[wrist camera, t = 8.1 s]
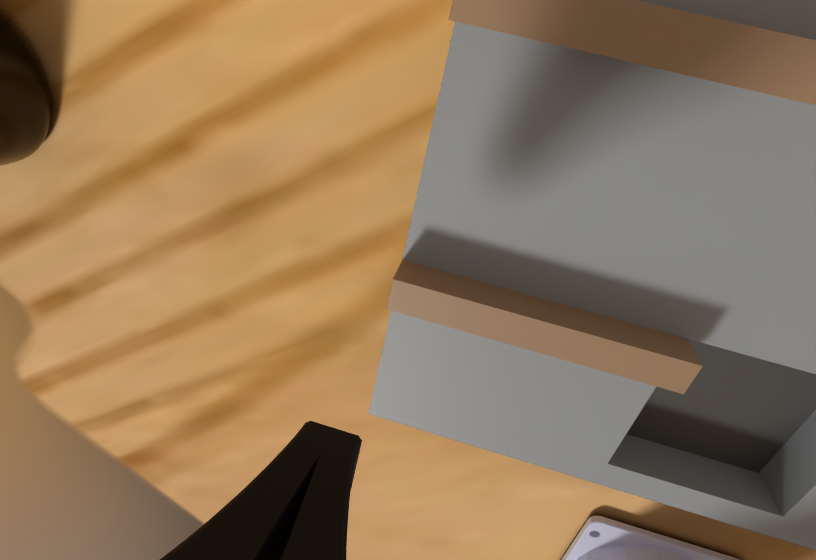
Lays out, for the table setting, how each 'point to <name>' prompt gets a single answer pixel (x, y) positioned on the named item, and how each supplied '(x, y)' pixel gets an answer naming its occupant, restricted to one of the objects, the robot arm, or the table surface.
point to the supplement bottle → (20, 97)
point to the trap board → (622, 252)
